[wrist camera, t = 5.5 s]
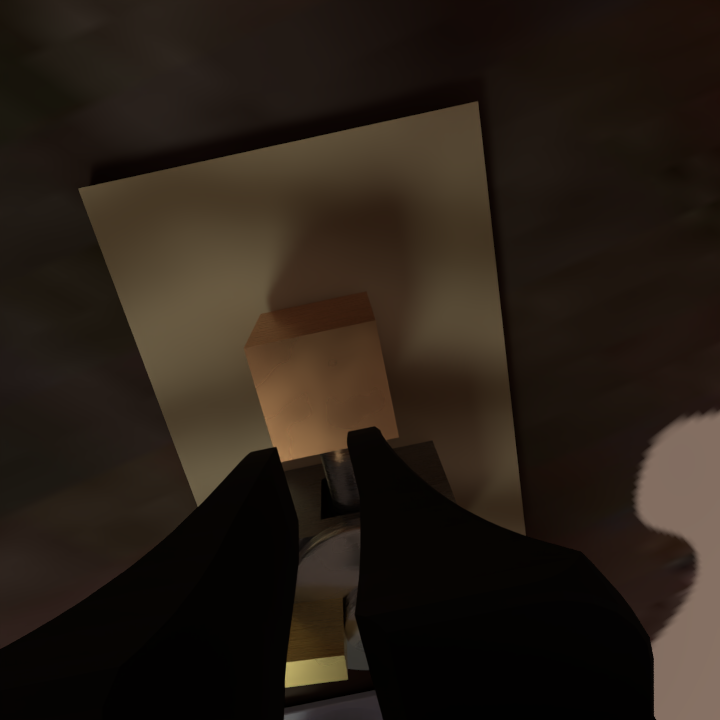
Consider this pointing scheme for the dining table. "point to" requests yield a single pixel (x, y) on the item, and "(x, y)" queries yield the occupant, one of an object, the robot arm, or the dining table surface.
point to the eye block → (320, 512)
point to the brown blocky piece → (322, 384)
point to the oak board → (323, 289)
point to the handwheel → (326, 609)
